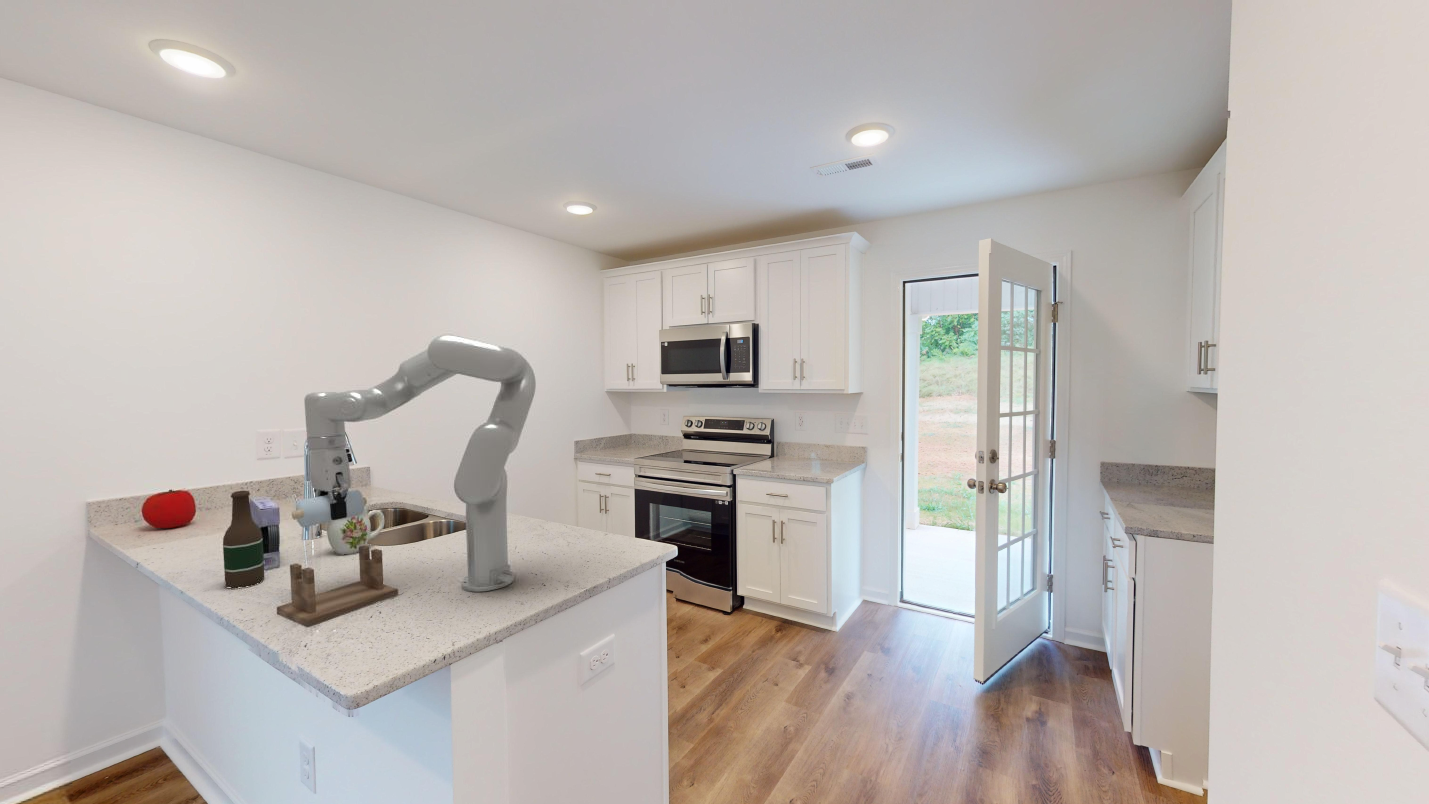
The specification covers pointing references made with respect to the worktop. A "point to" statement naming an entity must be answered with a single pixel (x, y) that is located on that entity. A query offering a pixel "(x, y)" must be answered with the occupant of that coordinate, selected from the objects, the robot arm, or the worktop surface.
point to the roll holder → (336, 592)
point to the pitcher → (352, 532)
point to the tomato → (169, 509)
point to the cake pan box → (267, 529)
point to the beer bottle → (243, 545)
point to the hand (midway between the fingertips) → (331, 516)
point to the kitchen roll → (326, 508)
